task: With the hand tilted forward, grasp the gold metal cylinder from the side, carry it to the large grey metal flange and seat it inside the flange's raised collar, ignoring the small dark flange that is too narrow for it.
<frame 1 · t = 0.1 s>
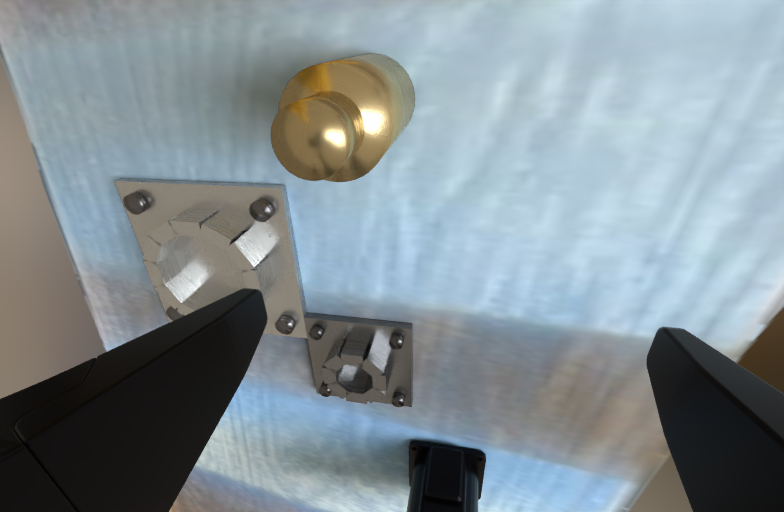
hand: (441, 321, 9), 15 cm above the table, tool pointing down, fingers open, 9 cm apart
gold metal cylinder: (374, 99, 21), on the table
flange small: (361, 358, 31), on the table
flange large: (221, 260, 29), on the table
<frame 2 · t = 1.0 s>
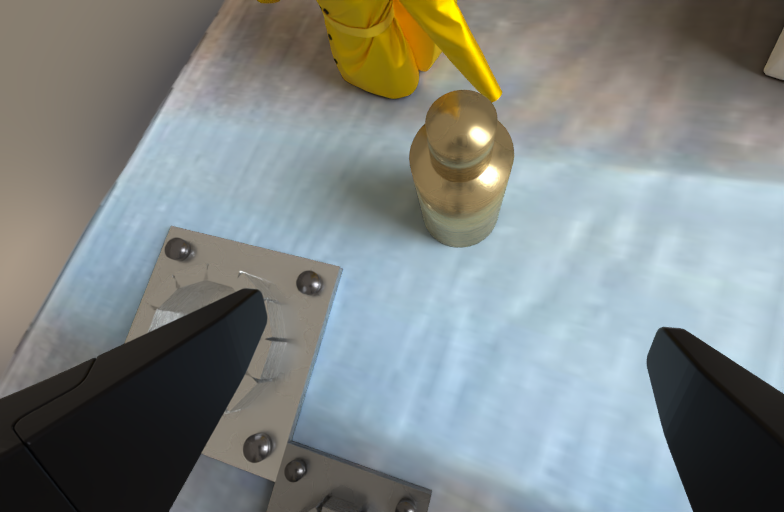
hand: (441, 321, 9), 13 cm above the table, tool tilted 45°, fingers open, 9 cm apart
yellow tall sculpted piece: (392, 59, 27), on the table
gold metal cylinder: (460, 211, 24), on the table
flange large: (223, 340, 24), on the table
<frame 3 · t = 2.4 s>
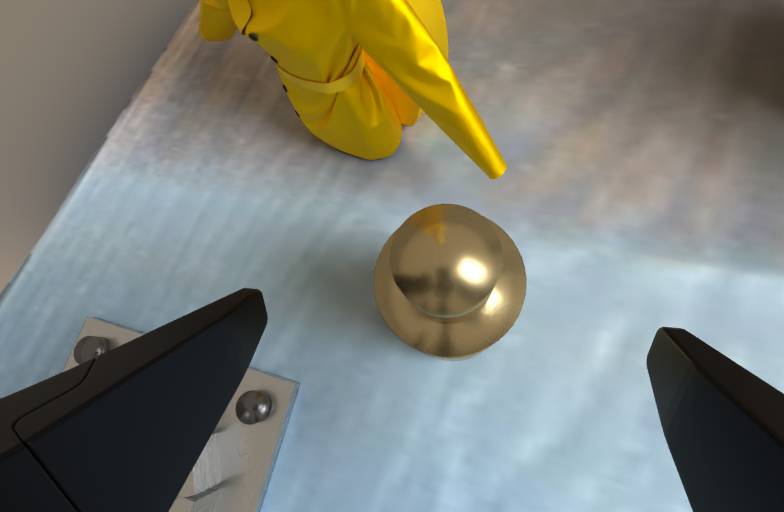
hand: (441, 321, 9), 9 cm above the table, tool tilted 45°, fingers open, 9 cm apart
yellow tall sculpted piece: (370, 108, 22), on the table
gold metal cylinder: (451, 311, 18), on the table
flange large: (142, 476, 18), on the table
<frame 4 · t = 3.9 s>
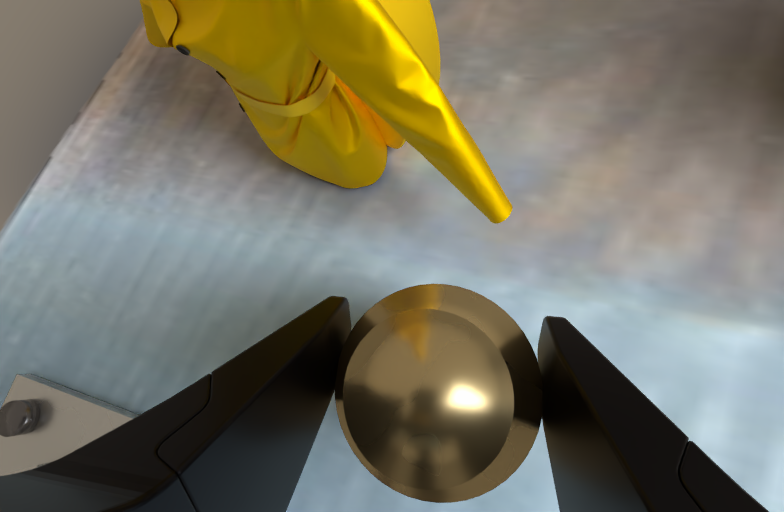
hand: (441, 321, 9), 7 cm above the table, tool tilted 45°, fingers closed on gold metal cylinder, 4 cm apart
yellow tall sculpted piece: (351, 125, 19), on the table
gold metal cylinder: (445, 376, 15), on the table, touching gripper
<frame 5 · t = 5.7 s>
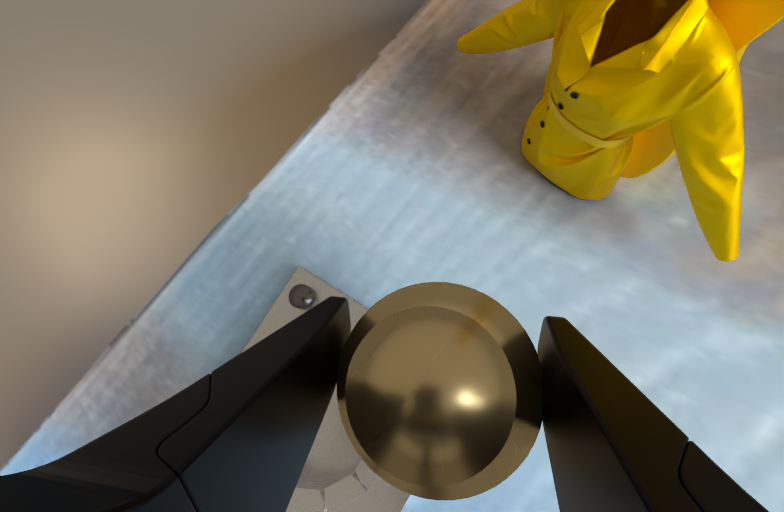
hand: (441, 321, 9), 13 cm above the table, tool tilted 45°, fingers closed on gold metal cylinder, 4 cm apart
yellow tall sculpted piece: (584, 147, 24), on the table
gold metal cylinder: (445, 375, 15), point 7 cm above the table, touching gripper
flange large: (326, 411, 22), on the table
when the fingers open (9 cm above the table, at t = 7.5 s): gold metal cylinder drops 1 cm, resting on flange large.
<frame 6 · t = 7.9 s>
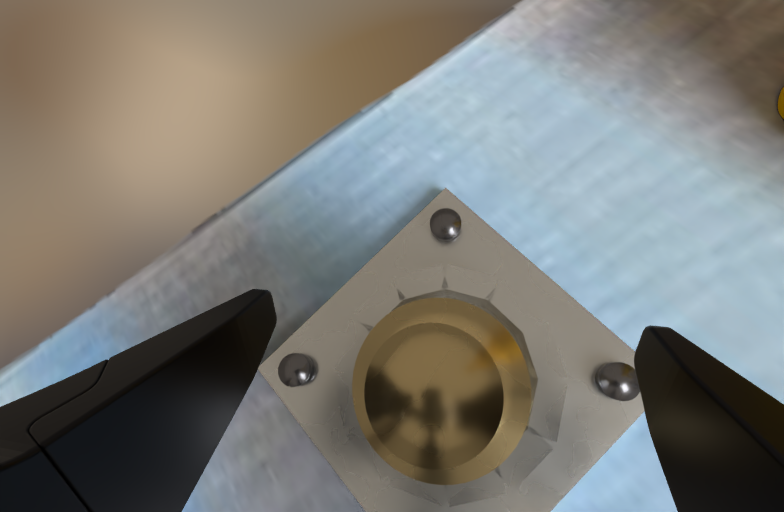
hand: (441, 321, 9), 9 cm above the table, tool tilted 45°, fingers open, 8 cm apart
gold metal cylinder: (446, 376, 16), point 1 cm above the table, touching flange large
flange large: (447, 374, 17), on the table
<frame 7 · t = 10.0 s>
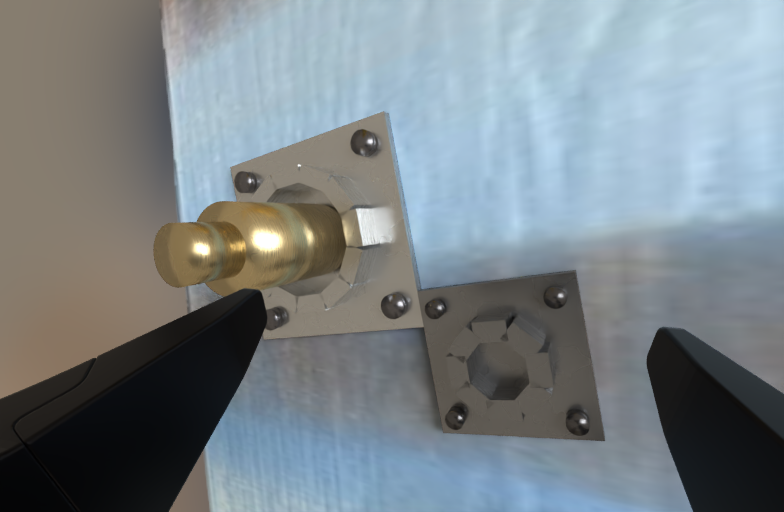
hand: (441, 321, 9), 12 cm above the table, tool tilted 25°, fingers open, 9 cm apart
gold metal cylinder: (317, 239, 24), point 1 cm above the table, touching flange large
flange small: (505, 355, 21), on the table
flange large: (322, 238, 25), on the table
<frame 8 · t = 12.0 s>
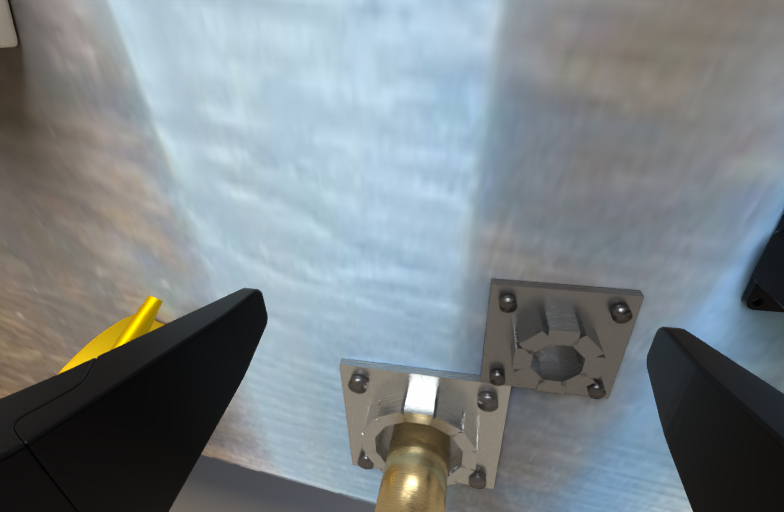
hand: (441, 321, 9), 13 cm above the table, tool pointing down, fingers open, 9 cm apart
yellow tall sculpted piece: (170, 343, 33), on the table
gold metal cylinder: (422, 430, 30), point 1 cm above the table, touching flange large
flange small: (551, 337, 25), on the table
flange large: (422, 424, 31), on the table
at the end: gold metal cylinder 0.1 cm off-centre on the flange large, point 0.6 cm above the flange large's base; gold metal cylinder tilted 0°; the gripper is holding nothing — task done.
